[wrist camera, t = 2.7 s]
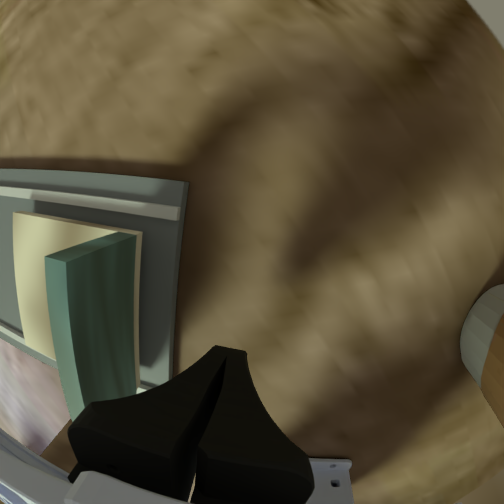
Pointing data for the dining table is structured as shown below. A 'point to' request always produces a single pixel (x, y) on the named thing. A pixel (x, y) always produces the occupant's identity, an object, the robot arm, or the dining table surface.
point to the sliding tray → (80, 303)
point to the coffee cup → (486, 347)
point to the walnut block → (61, 451)
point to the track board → (110, 214)
